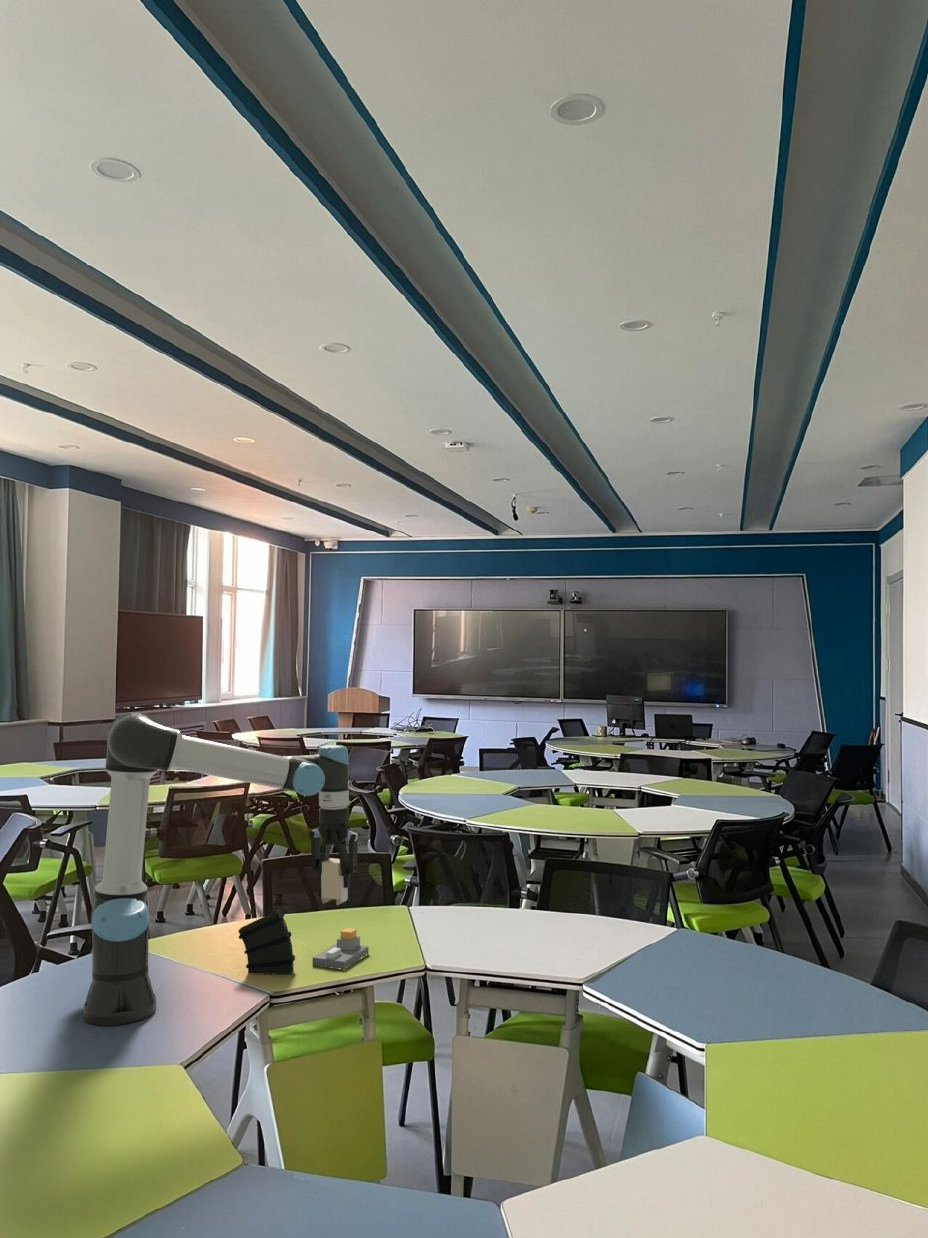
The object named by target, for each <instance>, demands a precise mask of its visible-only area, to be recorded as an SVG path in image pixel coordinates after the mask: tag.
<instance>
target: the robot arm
mask: <svg viewBox="0 0 928 1238" xmlns="http://www.w3.org/2000/svg"><path fill="white" fill-rule="evenodd" d="M106 742H107V745H106V747H107V749H106V756H105V757H106V759H105V772H106V773H107V774H108V775H109V776H110V778H111V779H110V792H109V803H108V814H107V815H108V816H107V827H106V838H105V848H104V849H105V851H104V859H103V860H104V861H103V871H102V872H103V873H102V880H101V881H100V882H99V883H98V884H97V885H96V886H95V887H94V896H93V907H92V910H91V913H90V914H91V915H90V924H91V933H92V935H91V936H92V954H91V955H92V959H91V960H92V964H91V965H92V969H91V970H92V973H91V974H92V977H91V982H90V986H89V989H88V992H87V996H86V1000H85V1002H84V1003H83V1007H82V1008H83V1009H82V1011H83V1013H82V1016H83V1020H84V1021H85V1022H86V1023H89V1024H92V1025H96V1026H107V1027H108V1026H109V1027H110V1026H118V1025H119V1026H120V1025H126V1024H130V1023H131V1024H132V1023H135V1022H139V1021H141V1020H144V1019H146V1018H148V1017H150V1016H152V1015H153V1014H154V1013H155V1012H156V1010H157V996H156V993H154V990H153V986H152V981H151V979H150V975H149V941H150V940H149V937H150V935H149V933H150V932H149V931H150V930H149V929H150V928H149V927H150V926H149V924H150V919H151V917H150V913H149V907H148V905H147V897H148V885H147V884H146V883H145V882H144V881H142V879H143V878H142V877H143V876H142V874H143V864H144V852H145V842H146V841H145V840H146V829H147V817H148V816H147V815H148V806H149V805H148V803H149V796H150V795H149V793H150V792H149V791H150V783H151V782H150V780H151V778H152V777H153V776H154V775H155V774H156V773H158V771H163V772H166V773H167V772H169V771H172V770H174V769H177V770H182V771H186V772H187V771H188V772H193V773H199V774H201V775H206V776H207V775H209V776H213V777H217V778H222V779H223V778H224V779H227V780H228V779H229V780H234V781H238V782H244V783H247V784H249V783H250V784H253V785H259V786H264V787H265V786H266V787H270V788H274V789H280V790H284V791H288V792H293V793H298V794H299V795H301V796H308V797H309V796H311V797H312V796H314V795H317V794H318V806H319V807H320V808H319V809H318V821H319V826H318V828H316V829H313V830H310V831H309V832H308V836H309V838H310V845H311V846H310V853H311V857H310V858H311V860H310V861H311V870H313V871H316V872H318V885H319V886H320V889H321V895H320V896H321V897H320V898H321V899H320V900H321V901H322V862H323V861H325V860H328V859H330V854H331V849H332V846H333V845H335V848H336V850H337V854H338V859H339V860H340V864H341V869H342V874H341V875H340V902H343V901H345V900H347V901H348V899H349V898H348V897H349V896H348V892H349V888H350V887H351V874H353V873H356V872H357V871H358V864H359V862H358V841H359V838H360V832H354V831H352V830H351V828H350V826H349V822H350V809H349V807H348V805H350V793H349V773H350V772H349V771H350V770H349V769H350V767H349V765H350V763H349V762H350V760H349V750H348V748H347V746H344V745H341V744H339V745H338V744H336V745H334V744H332V745H330V744H328V745H321V746H320V747H319V748H318V752H317V754H311V755H309V754H308V755H289V756H288V755H283V756H281V755H277V754H273V753H268V752H263V751H258V750H253V749H248V748H244V747H239V746H234V745H229V744H225V743H220V742H216V741H211V740H205V739H202V738H197V737H191V736H187V735H183V734H182V733H181V731H180V730H179V729H176V728H171V727H168V726H164V725H162V724H159V723H158V722H156V721H155V720H154V719H153V718H152V717H151V716H149V715H148V714H145V713H140V712H128V713H124V714H122V715H120V716H118V717H116V719H114V720H113V721H112V723H111V724H110V726H109V727H108V730H107V733H106ZM321 837H322V842H321ZM347 837H348V839H347ZM347 840H348V843H347ZM347 844H348V848H347ZM347 849H348V850H347ZM345 902H346V901H345ZM343 903H344V902H343Z"/></svg>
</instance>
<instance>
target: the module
mask: <svg viewBox="0 0 928 1238" xmlns="http://www.w3.org/2000/svg"><path fill="white" fill-rule="evenodd" d="M341 874H342V869H341V864H340V860H339V858H333V857H329V859H328V860H325V861H323V862H322V900H321V903H322V904H326V903H328V902H330V901H332V900H335V901H336V903H335V904H336V906H339V905H342V904H343V903H345V902H347V901H348V899H347V900H345V901H343V902H340V875H341Z"/></svg>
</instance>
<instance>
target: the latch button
mask: <svg viewBox="0 0 928 1238" xmlns="http://www.w3.org/2000/svg"><path fill="white" fill-rule="evenodd" d="M356 936H357V929H356V928H350V927H346V928H344V929H342V930H341V931H340V937H341V939H344V940H353V939H355V938H356Z"/></svg>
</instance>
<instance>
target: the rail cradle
mask: <svg viewBox="0 0 928 1238" xmlns="http://www.w3.org/2000/svg"><path fill="white" fill-rule="evenodd" d="M369 949H370V948H369V946H368V945H361V936H359V935H356V938H355V939H353V940H344V939H341V936H340V937H338V938H337V939H336V943H335V944H333V945H332V946H329V947H328V948H326V949H324V950H323V951H321V952H320V953H317V954H316V955H314V956H313V957H312V966H313V965H317V966H316V967H320V966H324V967H323V968H327V967H333V968H332V969H334V968H341V969H345V968H346V967H348V966H349V965H351V964H352V965H354V964H355V963H354V962H355V961H357V960H359V959H360V958H361V957H363V956H365V955H366V954H368V953H369ZM368 955H369V954H368ZM365 957H366V956H365ZM363 958H364V957H363ZM360 960H361V959H360ZM360 960H359V961H360ZM357 962H358V961H357ZM353 963H354V964H353ZM352 965H351V966H352ZM325 966H326V967H325ZM349 967H350V966H349ZM349 967H348V968H349ZM346 969H347V968H346ZM346 969H345V970H346Z"/></svg>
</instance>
